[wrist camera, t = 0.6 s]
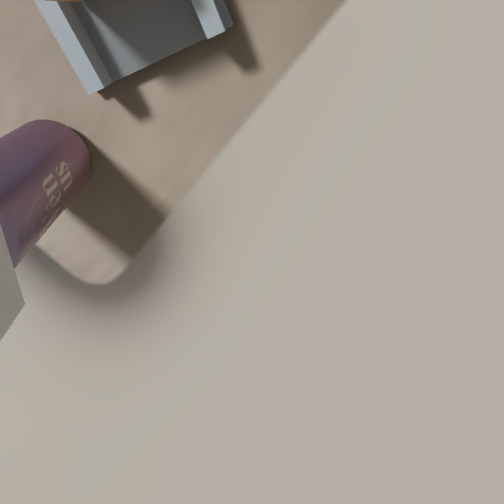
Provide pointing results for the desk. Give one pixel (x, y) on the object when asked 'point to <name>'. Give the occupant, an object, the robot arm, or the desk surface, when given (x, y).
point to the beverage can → (38, 180)
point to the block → (66, 0)
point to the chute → (128, 33)
